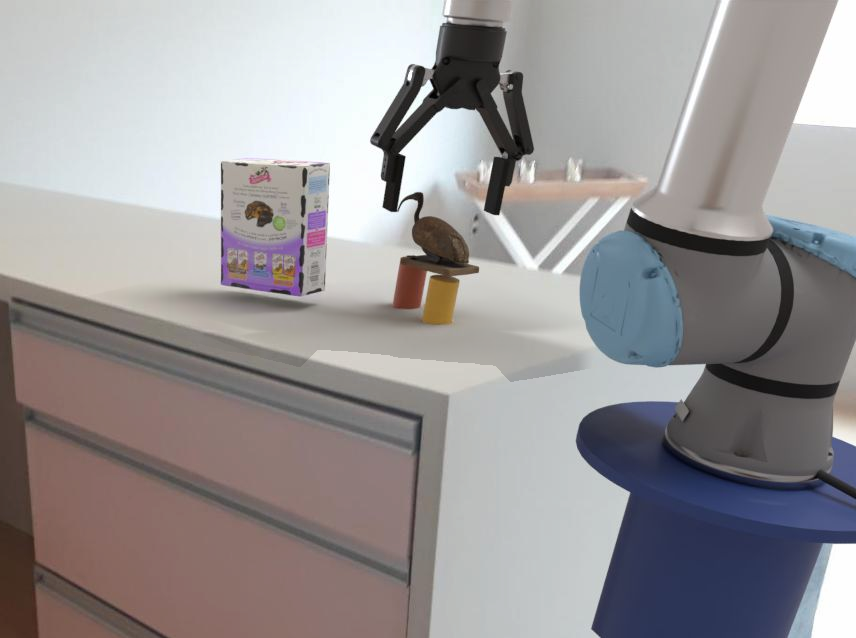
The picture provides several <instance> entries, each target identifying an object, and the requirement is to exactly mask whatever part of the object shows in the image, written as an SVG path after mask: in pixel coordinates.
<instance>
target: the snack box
mask: <svg viewBox="0 0 856 638" xmlns="http://www.w3.org/2000/svg"><path fill="white" fill-rule="evenodd" d="M330 169H331V163H330V162H323V161H307V160H293V159H292V160H291V159H278V158H277V159H276V158H253V157H243V158H235V159H228V160H227V159H226V160H221V161H220V285H221V286H224V287H231V288H239V289H245V290H253V291H259V292H267V293H273V294H280V295H286V296H292V297H305V296H310V295H313V294H317V293H322V292H324V291H325V290H326V274H327V273H326V271H327V270H326V269H327V250H328V249H327V247H328V246H327V244H328V243H327V242H328V224H329V222H328V221H329V198H330V197H329V196H330V173H331V170H330Z"/></svg>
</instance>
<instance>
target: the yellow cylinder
mask: <svg viewBox="0 0 856 638" xmlns="http://www.w3.org/2000/svg"><path fill="white" fill-rule="evenodd" d="M428 279H429V281H428V285H427V291H426V295H425V302H424V307H423V312H422V318H421V322H423V323H425V324H427V325H429V324H430V325H448V324H452V323H453V318H454V312H455V307H456V303H457V297H458V292H459V286H460V283H461V281H460V279H459V278H457V277H456V276H445V275H441V274H433V275H430V276H429V278H428Z"/></svg>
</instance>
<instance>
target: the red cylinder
mask: <svg viewBox="0 0 856 638" xmlns="http://www.w3.org/2000/svg"><path fill="white" fill-rule="evenodd" d="M403 257H407V255H405V256H401V257H400V259H399V262H400V261H401V258H403ZM427 274H428V271H425V270H421V269H417V268H414V267H410V266H406V265H402V264H400V263H399V265H398V271H397V276H396V282H395V288H394V294H393V300H392V305H391V306H392V307H393V308H395V309H399V310H416V309H420V308H421V306H422V301H423V295H424V290H425V284H426V278H427Z"/></svg>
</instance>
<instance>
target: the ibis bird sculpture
mask: <svg viewBox="0 0 856 638" xmlns="http://www.w3.org/2000/svg"><path fill="white" fill-rule="evenodd" d="M409 200H412V201H416V202H417V207H416V209H415V211H414V215H413V223H414V224H413V226H412V228H411V238H412V240H413V242H414V243H415V245H417V246H419V247H420V248H421V250H422V252H423V253H424V254H420V255H415V254H412V255H409V254H408V255H406V256H407V257H405V256H402V257H403V258H401V257H400V258H401V261H400V260H399V264H402V265H406V266H410V267H414V268H417V269H421V270H425V271H427V272H429V273H432V274H435V275H445V276H452V277H457V276H459V277H460V276H467V275H473V274H474V275H475V274H479V273H480V266H478V265H474V264H469V263H470V260H469V259H470V249H469V246H468V244H467V243H466V241H465V239H464V237H463V236H462V235H461V234H460V232H458V231H457V230H456V229H455V228H454V227H453V226H452V225H451V224H449V223H448V222H447V221H445V220H443V219H442V218H439V217H436V216H432V215H428V216H427V215H426V216H423V217H421V218H420V213H421V211H422V209H423V207H424V201H425V199H424V193H423V192H422V191H415V192H413V193H411V194H408V195H406V196H404V197H403V199H402V200H401V201H399V202H400V203H398V208H397V212H396V213H399V212H400V209H401V207H402V205H403V204H404V203H405V202H406V201H409Z"/></svg>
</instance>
